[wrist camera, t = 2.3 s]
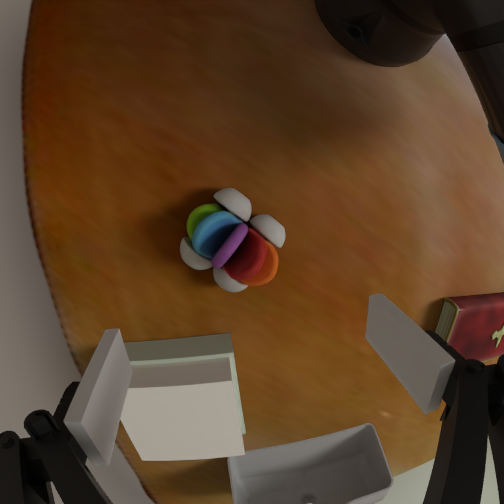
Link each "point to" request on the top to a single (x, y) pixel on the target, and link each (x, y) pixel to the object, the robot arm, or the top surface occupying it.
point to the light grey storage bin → (314, 471)
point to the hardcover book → (474, 325)
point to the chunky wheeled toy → (232, 242)
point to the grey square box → (184, 399)
